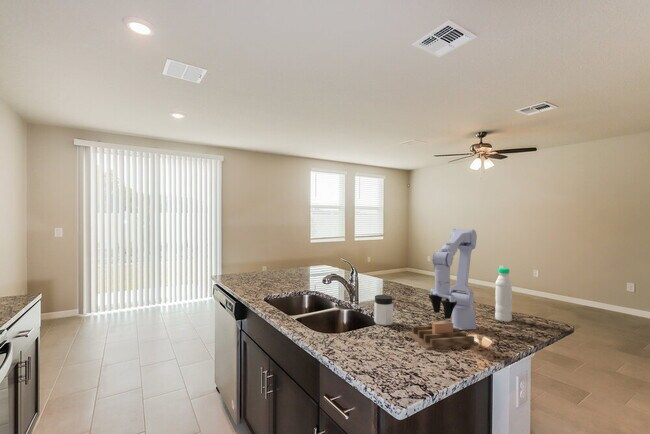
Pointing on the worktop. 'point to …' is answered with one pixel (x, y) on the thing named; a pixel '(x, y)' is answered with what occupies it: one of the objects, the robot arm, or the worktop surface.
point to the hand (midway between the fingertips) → (442, 315)
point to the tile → (442, 327)
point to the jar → (383, 310)
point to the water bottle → (503, 296)
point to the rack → (440, 338)
